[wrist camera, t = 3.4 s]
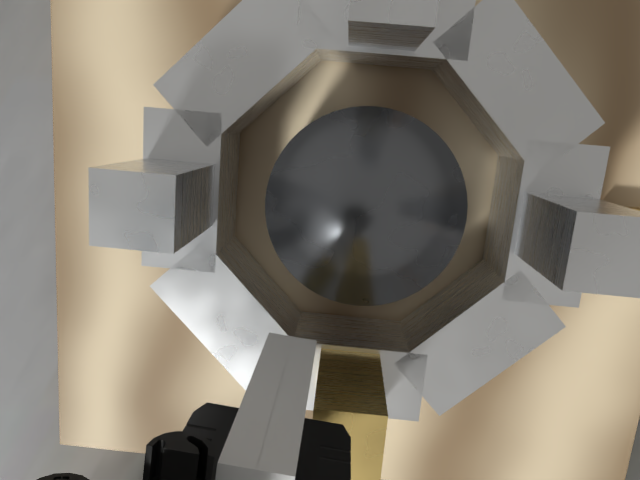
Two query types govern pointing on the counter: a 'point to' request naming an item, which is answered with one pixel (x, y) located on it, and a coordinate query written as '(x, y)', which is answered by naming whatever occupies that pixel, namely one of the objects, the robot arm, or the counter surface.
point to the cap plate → (251, 230)
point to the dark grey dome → (366, 206)
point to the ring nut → (450, 303)
